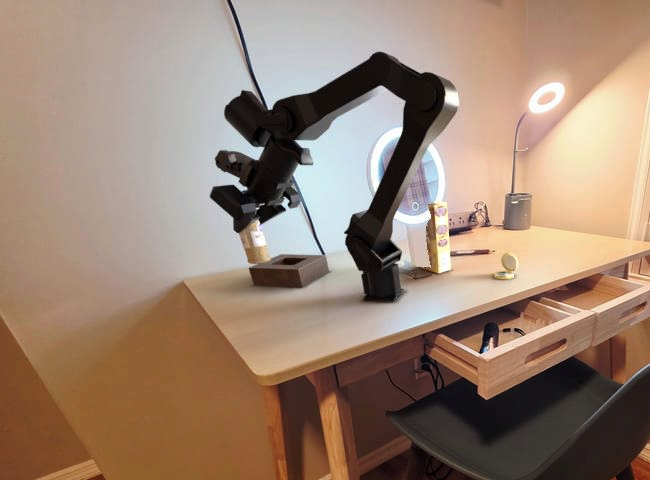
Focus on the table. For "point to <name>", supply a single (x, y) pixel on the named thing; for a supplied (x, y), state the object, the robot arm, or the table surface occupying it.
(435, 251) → the candy box
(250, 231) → the sprinkles bottle
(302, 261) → the holder
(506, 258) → the eyeshadow
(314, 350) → the table surface
